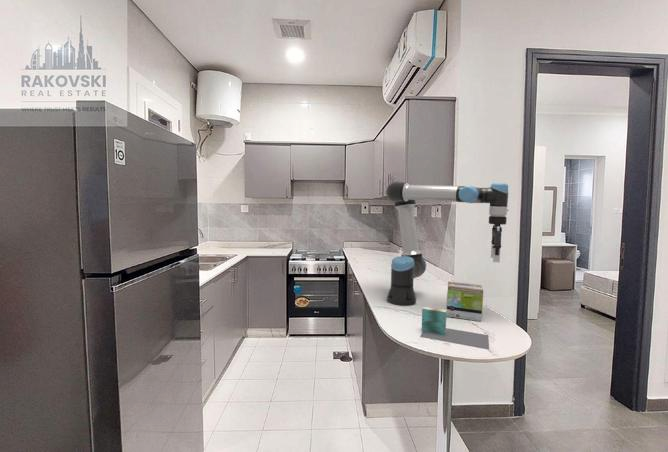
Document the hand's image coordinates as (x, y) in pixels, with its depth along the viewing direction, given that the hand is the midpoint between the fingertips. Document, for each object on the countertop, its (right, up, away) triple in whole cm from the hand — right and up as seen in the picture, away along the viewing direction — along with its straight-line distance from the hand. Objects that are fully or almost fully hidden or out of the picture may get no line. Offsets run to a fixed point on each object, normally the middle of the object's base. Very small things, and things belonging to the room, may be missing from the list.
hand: (494, 259), depth 153 cm
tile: (-38, -26, -25) cm, 52 cm away
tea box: (-17, -26, -5) cm, 32 cm away
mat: (-31, -27, -30) cm, 50 cm away
